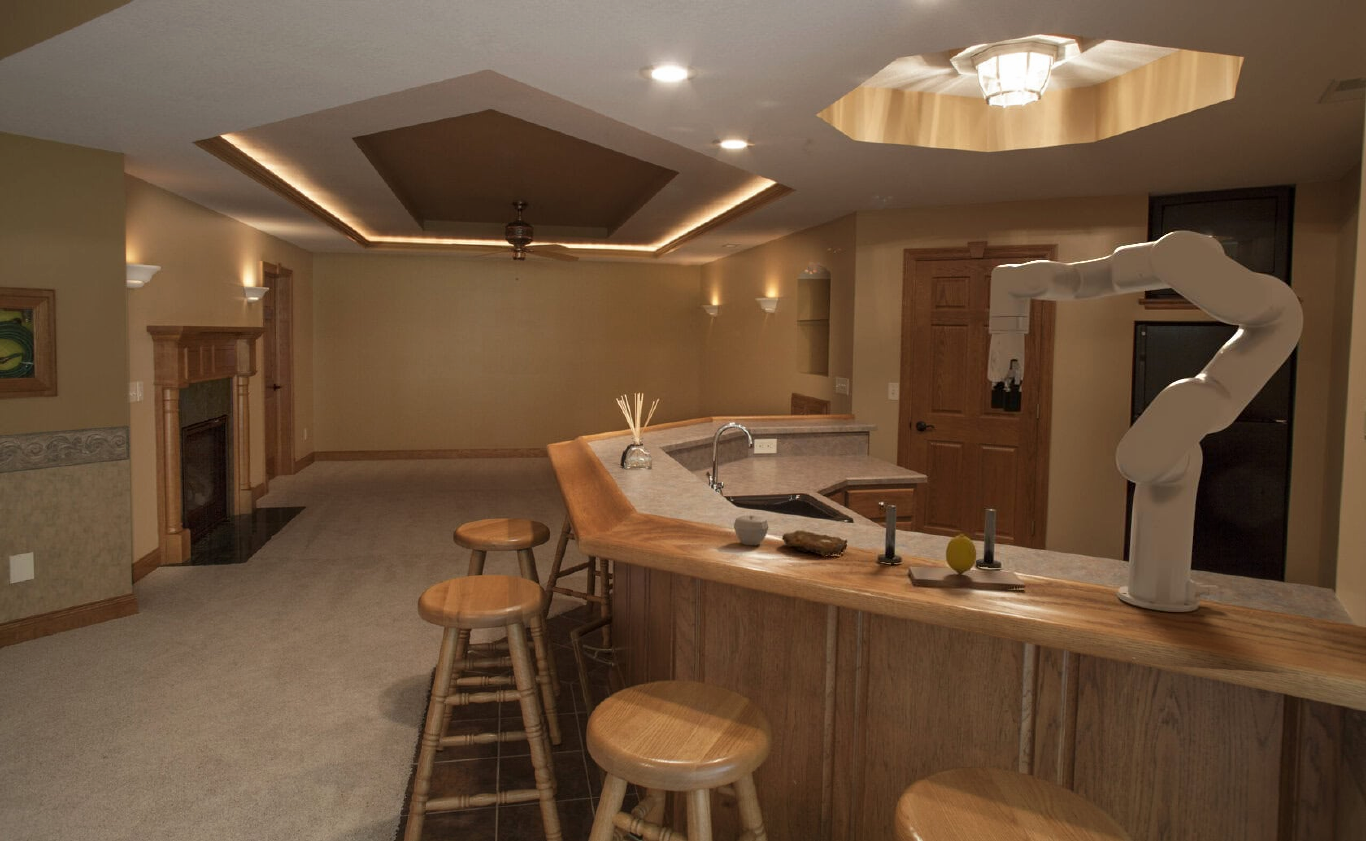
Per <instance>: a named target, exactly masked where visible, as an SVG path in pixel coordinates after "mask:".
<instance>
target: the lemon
mask: <svg viewBox="0 0 1366 841" xmlns="http://www.w3.org/2000/svg"><path fill="white" fill-rule="evenodd" d="M976 550H977V549H976V545H975V543H974V542H973V540H972V539H971V538H969V537H967V536H965V535H964V533H961V534H958V535H956V536H954V537H952V538H951V539H950V540H949V542H948V544H947V546H946V550H945V559H946V562H947V564H948V566H949V568H951V569H953V570H955V571H956V572H957V573H958V574H960V575H961V574H963V573H964V572H965V571H968V570H970V569H971V570H972V568H973V567H974V566H975V565H976V560H977V551H976Z"/></svg>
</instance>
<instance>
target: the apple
mask: <svg viewBox="0 0 1366 841" xmlns="http://www.w3.org/2000/svg"><path fill="white" fill-rule="evenodd" d="M733 528H734V531H735V536H736V537H737V539H738V541H740V543H741V544H743V545H745V546H758V545H759V544H761V543H762V542H763V541H764V539H765V538H766V536H767V533H768V530H769V523H768V521H767V519H766V518H764V517H763V516H759V515H751V514H750V515H741V516H738V517H736V518H735V521H734V524H733Z"/></svg>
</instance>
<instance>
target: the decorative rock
mask: <svg viewBox="0 0 1366 841" xmlns="http://www.w3.org/2000/svg"><path fill="white" fill-rule="evenodd" d="M781 540H782V541H783V542H784V544H785V546H786V547H795V548H796V549H797V550H798V551H799V550H801V552H803V551H806V552H812V551H813V552H812V553H814V552H815V553H814V554H818V553H819V554H818V555H820V554H821V555H820V556H822V557H823V556H824V557H823V558H826V557H825V556H826V555H827V556H829V557H831V555H833V554H837V555H838V554H839V555H840V554H841V552H844V551H846V550H847V547H848V540H847V539H842V538H840V537H836V536H829V535H827V534H818V533H814V532H810V531H809V532H808V531H806V530H805V531H804V530H795V531H794V532H789V533H788V532H787V533H784V534H783V535H782V537H781ZM797 550H796V551H797ZM807 550H809V551H807ZM844 553H845V552H844Z"/></svg>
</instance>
